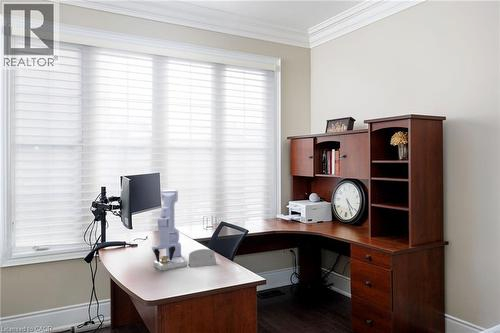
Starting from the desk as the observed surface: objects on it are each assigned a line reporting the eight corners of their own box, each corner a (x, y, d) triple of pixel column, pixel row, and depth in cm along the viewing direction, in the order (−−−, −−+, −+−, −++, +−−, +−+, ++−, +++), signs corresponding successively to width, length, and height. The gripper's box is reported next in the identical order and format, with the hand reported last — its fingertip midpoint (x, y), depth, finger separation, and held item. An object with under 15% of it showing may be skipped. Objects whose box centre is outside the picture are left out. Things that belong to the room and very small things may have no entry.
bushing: (166, 265, 219) (166, 255, 219) (169, 267, 215) (169, 256, 215) (159, 266, 216) (159, 256, 216) (162, 268, 212) (162, 258, 212)
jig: (178, 261, 227) (178, 256, 227) (186, 266, 217) (186, 261, 217) (153, 265, 218) (153, 260, 218) (160, 270, 208) (160, 265, 208)
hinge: (189, 267, 215) (188, 249, 218) (188, 267, 219) (187, 250, 222) (217, 264, 220) (215, 247, 223) (215, 264, 224) (214, 248, 227)
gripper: (154, 240, 208) (154, 264, 208) (178, 237, 216) (178, 260, 216) (150, 238, 214) (150, 261, 214) (173, 235, 222) (174, 257, 222)
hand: (164, 260), depth 215 cm, fingers open, 7 cm apart
